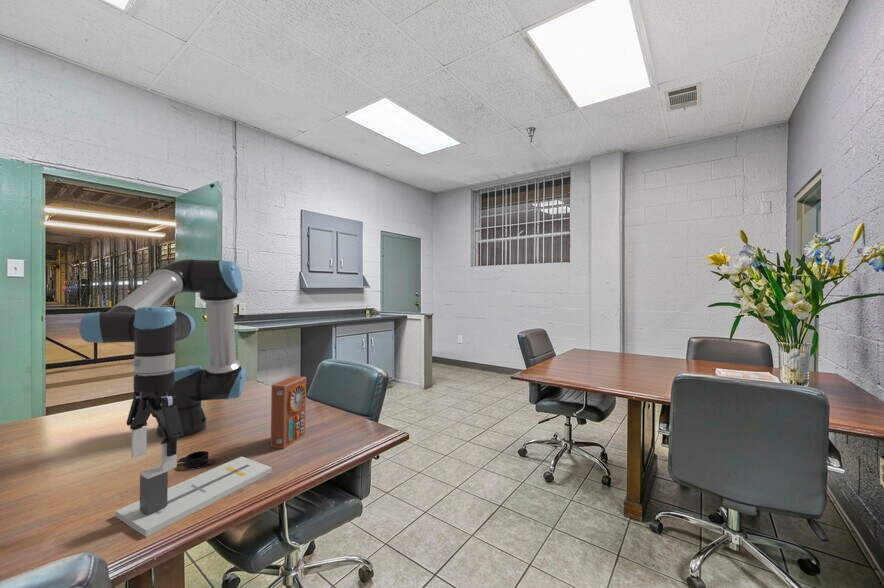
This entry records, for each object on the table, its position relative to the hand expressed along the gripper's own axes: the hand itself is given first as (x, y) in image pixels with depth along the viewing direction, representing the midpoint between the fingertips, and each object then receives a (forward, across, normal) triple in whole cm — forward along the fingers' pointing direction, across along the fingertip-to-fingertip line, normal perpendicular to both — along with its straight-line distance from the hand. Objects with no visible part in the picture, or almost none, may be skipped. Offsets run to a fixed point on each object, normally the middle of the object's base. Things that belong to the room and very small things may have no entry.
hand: (153, 462), depth 84 cm
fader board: (+13, 0, +11) cm, 17 cm away
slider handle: (+11, 0, 0) cm, 11 cm away
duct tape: (+13, -17, +19) cm, 29 cm away
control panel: (+13, -7, +44) cm, 47 cm away
